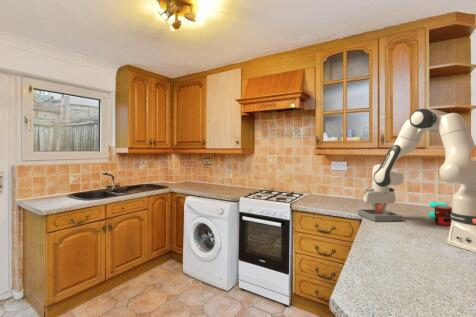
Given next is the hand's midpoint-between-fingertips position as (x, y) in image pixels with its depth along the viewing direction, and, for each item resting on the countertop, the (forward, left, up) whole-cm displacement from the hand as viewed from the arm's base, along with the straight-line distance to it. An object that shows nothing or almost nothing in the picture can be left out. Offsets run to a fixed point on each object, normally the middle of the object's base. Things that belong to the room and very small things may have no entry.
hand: (379, 209), depth 165 cm
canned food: (-17, -29, -6) cm, 34 cm away
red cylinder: (0, 0, -2) cm, 2 cm away
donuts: (-3, -40, -6) cm, 40 cm away
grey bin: (0, 0, -5) cm, 5 cm away
